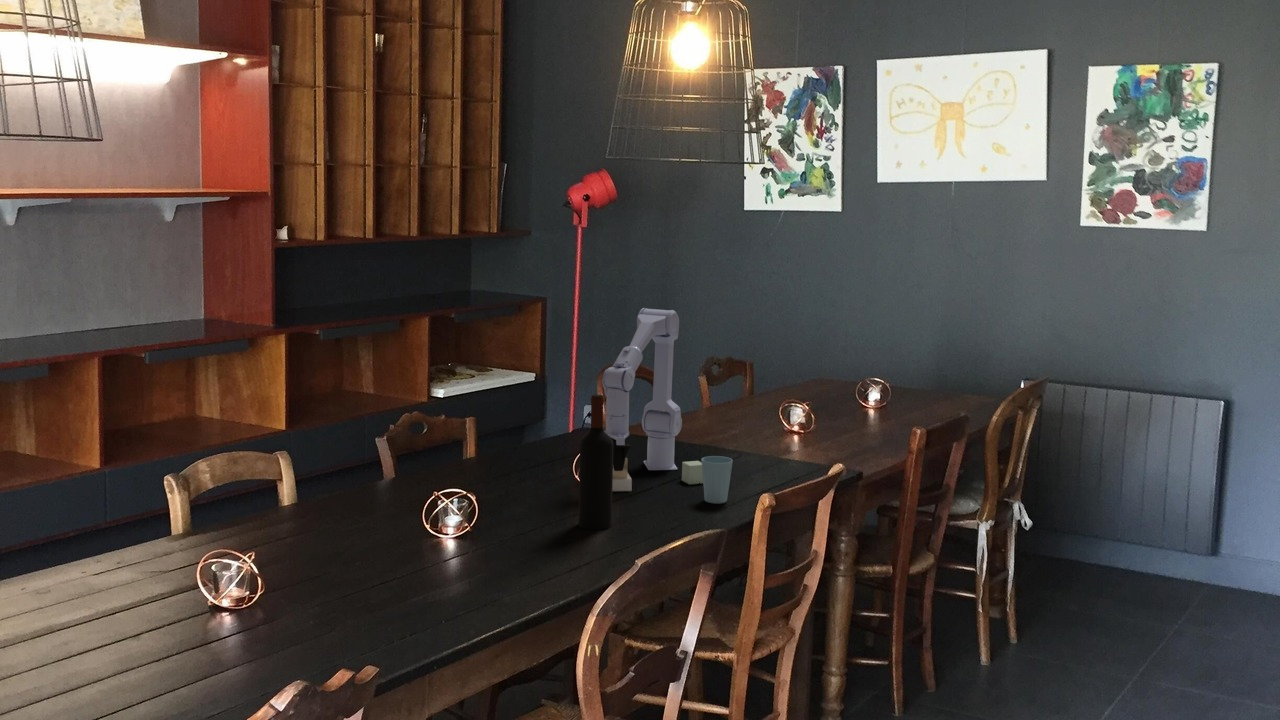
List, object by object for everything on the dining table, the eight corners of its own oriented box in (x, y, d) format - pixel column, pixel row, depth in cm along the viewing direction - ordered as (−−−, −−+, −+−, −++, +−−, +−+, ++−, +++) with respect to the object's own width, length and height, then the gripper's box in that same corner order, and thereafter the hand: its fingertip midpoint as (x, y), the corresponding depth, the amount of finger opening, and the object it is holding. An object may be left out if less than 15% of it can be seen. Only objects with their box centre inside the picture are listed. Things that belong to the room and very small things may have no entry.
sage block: (681, 480, 323) (682, 462, 322) (697, 479, 325) (697, 460, 324) (689, 484, 319) (689, 465, 318) (704, 483, 321) (705, 464, 320)
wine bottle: (572, 526, 279) (574, 396, 274) (589, 518, 286) (591, 391, 281) (601, 531, 275) (603, 399, 271) (617, 523, 282) (620, 394, 278)
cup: (737, 502, 303) (739, 460, 301) (713, 506, 299) (714, 464, 297) (718, 495, 309) (719, 454, 307) (694, 499, 305) (695, 458, 303)
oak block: (607, 474, 316) (607, 455, 315) (624, 473, 316) (625, 454, 315) (609, 478, 311) (609, 459, 310) (627, 478, 312) (627, 458, 311)
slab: (600, 484, 317) (601, 473, 317) (627, 484, 318) (628, 472, 318) (604, 491, 310) (604, 479, 310) (631, 490, 311) (631, 479, 311)
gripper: (598, 409, 318) (597, 460, 320) (605, 420, 304) (604, 474, 306) (625, 408, 319) (624, 460, 321) (633, 420, 305) (632, 473, 307)
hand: (616, 467), depth 313 cm, fingers open, 7 cm apart
